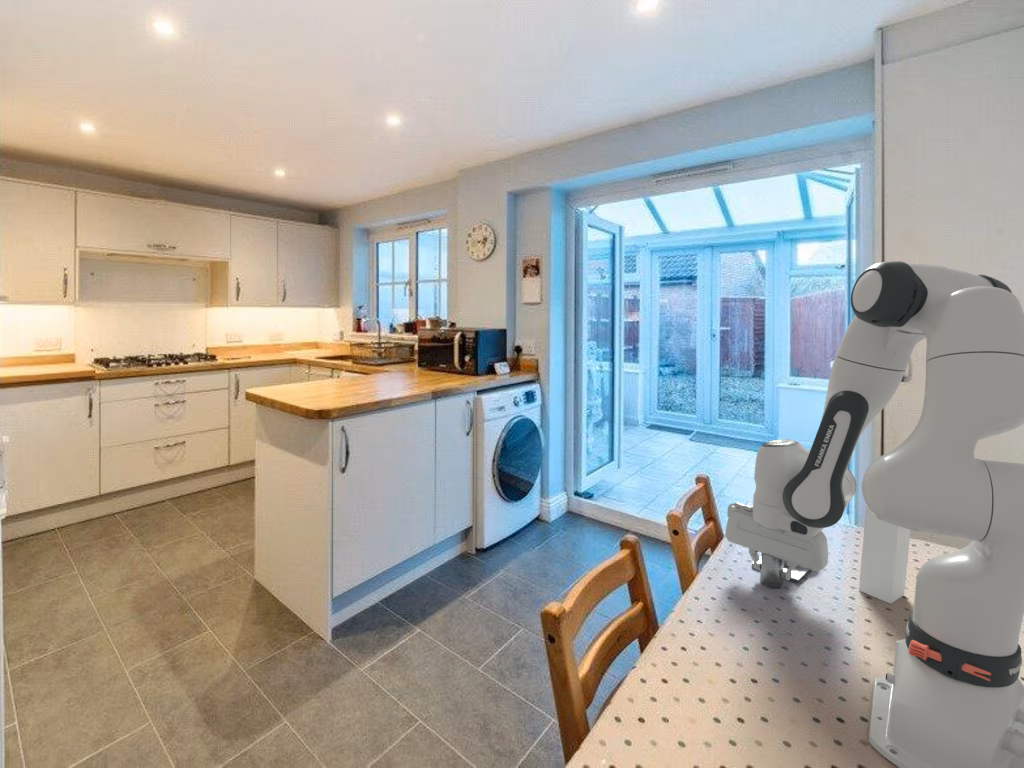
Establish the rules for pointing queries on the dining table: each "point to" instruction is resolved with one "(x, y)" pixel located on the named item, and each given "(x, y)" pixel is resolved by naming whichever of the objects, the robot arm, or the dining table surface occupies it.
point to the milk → (883, 559)
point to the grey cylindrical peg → (771, 571)
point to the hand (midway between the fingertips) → (771, 573)
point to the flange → (796, 572)
